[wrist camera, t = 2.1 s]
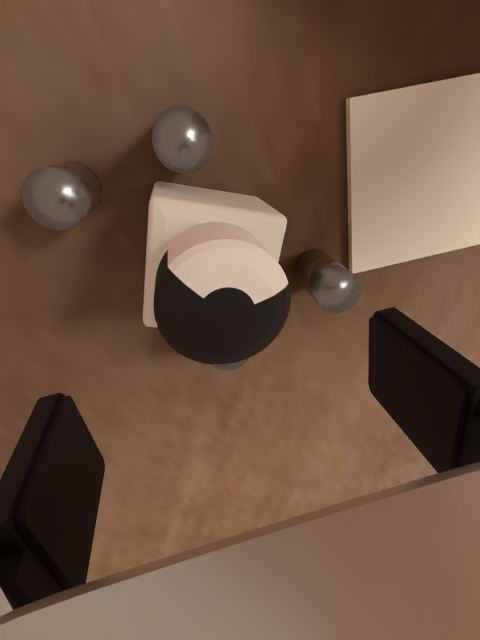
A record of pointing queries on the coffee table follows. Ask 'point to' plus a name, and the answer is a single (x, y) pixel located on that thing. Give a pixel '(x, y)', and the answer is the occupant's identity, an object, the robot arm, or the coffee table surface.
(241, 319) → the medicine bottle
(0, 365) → the coffee table surface
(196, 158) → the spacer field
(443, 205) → the pad
